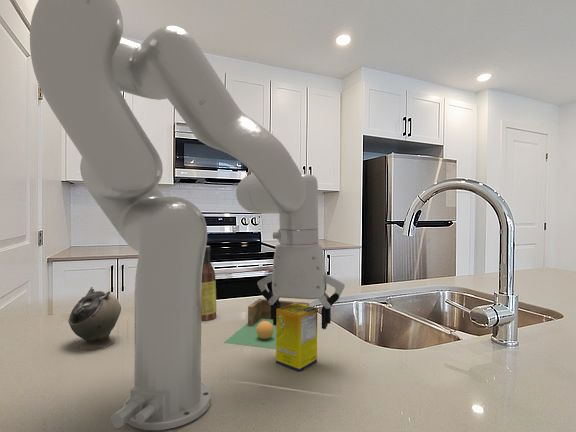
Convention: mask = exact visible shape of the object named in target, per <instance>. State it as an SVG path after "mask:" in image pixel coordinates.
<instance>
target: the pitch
mask: <svg viewBox="0 0 576 432" xmlns="http://www.w3.org/2000/svg"><path fill="white" fill-rule="evenodd" d="M262 321H268V322H270V323H271V324H272V325H273V320H272V319H260V320H259V321H258V322H257V323H256V324H255V325H253V326H248V322H247V323H246V324H245V325H243V326H242V327H240V329H239V330H237V331H236V332H235V333H233V334H232V335H231V336H229V337H228V338H227V339H226V340H224V342H223V343H224V344H229V345H239V346H245V347H246V346H248V347H255V348H263V349H272V350H276V325H273V328H274V331H273V334H272V336H271V337H270V338H268V339H261V338H260V337H259V336H258V335H257V332H256V328H257V325H258V324H259V323H260V322H262Z"/></svg>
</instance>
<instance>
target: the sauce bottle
mask: <svg viewBox="0 0 576 432" xmlns="http://www.w3.org/2000/svg"><path fill="white" fill-rule="evenodd" d="M211 250H212V249H211V245H206V250H205V255H204V261H203V269H202V290H201V302H202V308H201V322H206V321H212V320H215V319H216V317H217V288H216V287H217V286H216V283H217V282H216V274H215V273H216V272H215V270H214V268H213V266H212V263H211Z"/></svg>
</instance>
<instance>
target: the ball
mask: <svg viewBox="0 0 576 432" xmlns="http://www.w3.org/2000/svg"><path fill="white" fill-rule="evenodd" d="M273 331H274V328H273V325H272V324H271V323H270V322H268V321H262V322H260V323H259V324H258V325H257V328H256V332H257V335H258V336H259V337H260V338H261V339H268V338H270V337H271V336H272V334H273Z"/></svg>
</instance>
